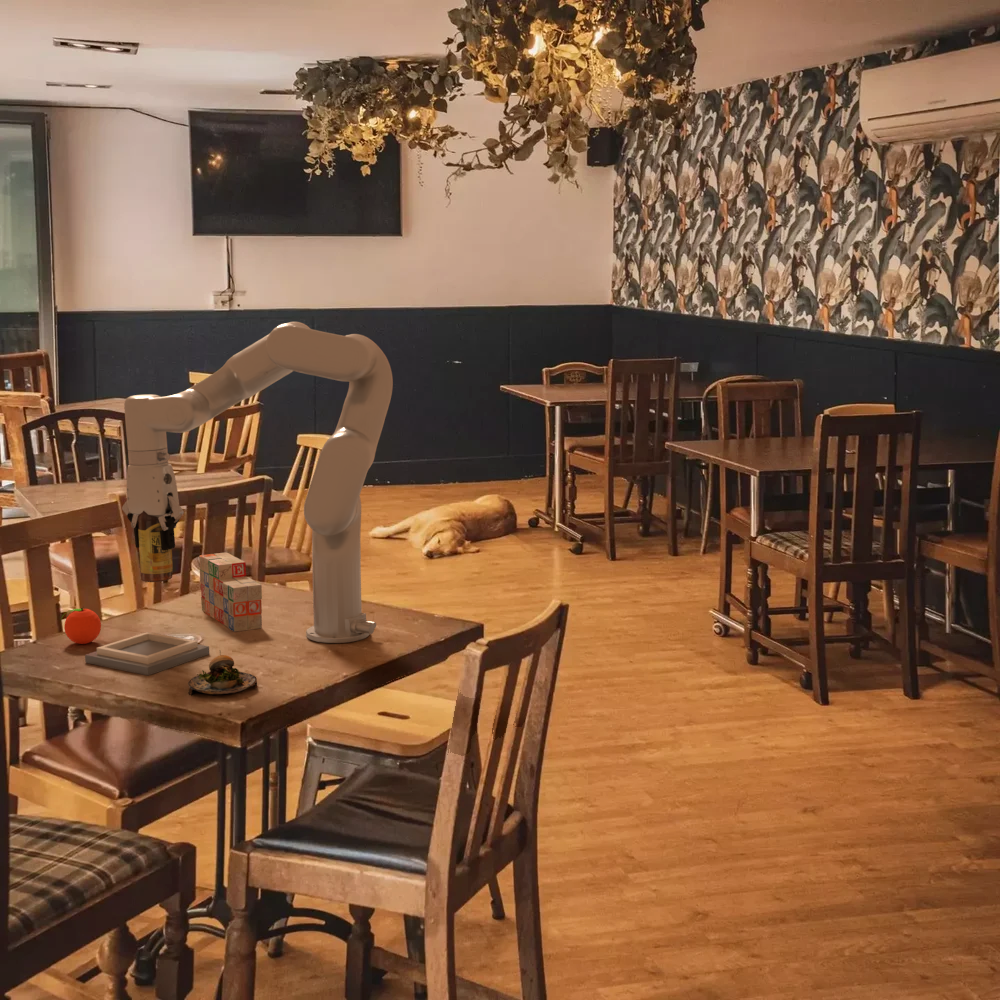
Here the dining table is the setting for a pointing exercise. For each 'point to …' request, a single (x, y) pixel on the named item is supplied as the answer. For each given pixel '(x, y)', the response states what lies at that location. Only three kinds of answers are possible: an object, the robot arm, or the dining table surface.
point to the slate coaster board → (147, 653)
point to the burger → (222, 678)
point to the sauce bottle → (153, 550)
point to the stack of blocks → (230, 592)
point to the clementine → (82, 626)
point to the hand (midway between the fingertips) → (155, 546)
